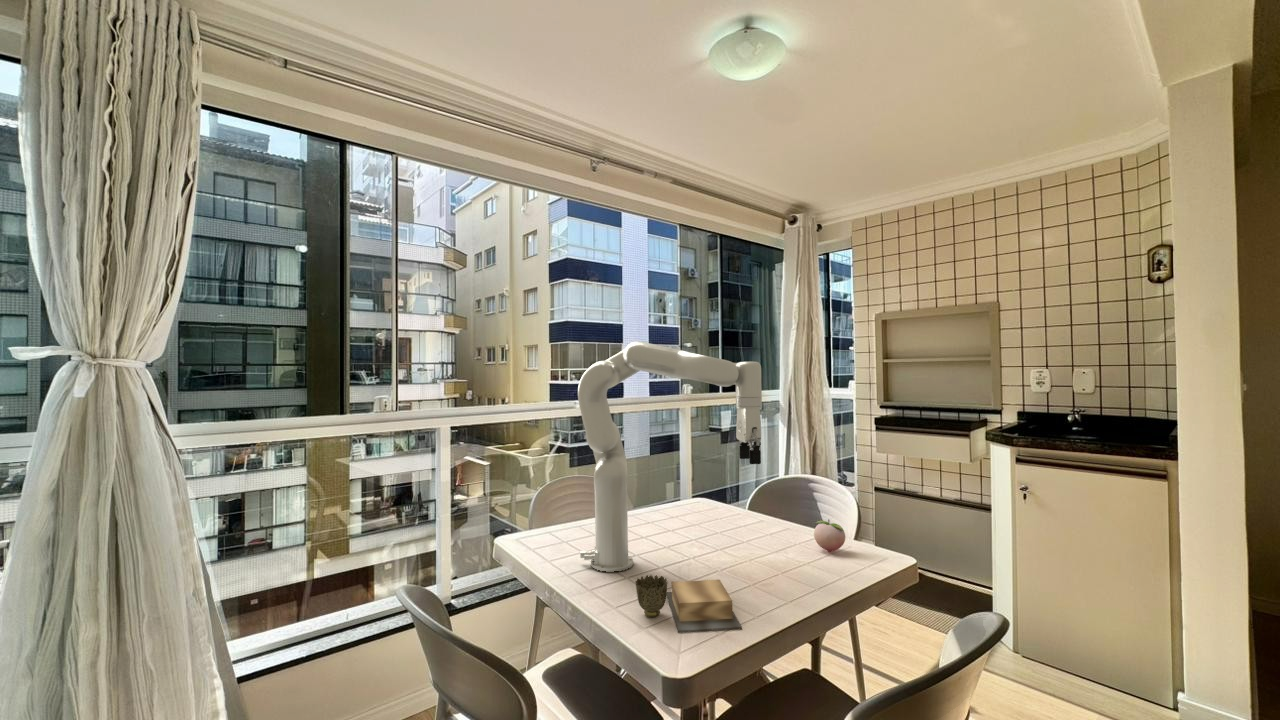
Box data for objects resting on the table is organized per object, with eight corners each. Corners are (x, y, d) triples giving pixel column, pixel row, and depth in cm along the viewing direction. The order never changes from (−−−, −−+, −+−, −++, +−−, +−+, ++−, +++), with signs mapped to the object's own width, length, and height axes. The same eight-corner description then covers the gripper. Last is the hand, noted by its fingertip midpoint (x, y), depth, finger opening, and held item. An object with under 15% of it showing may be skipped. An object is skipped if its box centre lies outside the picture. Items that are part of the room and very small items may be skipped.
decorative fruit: (809, 552, 158) (808, 520, 159) (819, 545, 164) (818, 514, 165) (840, 559, 152) (839, 525, 152) (849, 552, 158) (848, 519, 159)
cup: (634, 609, 122) (634, 575, 122) (665, 607, 122) (665, 573, 123) (637, 624, 114) (636, 587, 115) (670, 622, 115) (669, 586, 115)
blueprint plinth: (678, 632, 110) (677, 611, 110) (665, 593, 130) (665, 575, 130) (742, 629, 111) (741, 608, 111) (720, 591, 131) (719, 573, 131)
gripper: (728, 402, 160) (729, 457, 160) (745, 404, 143) (746, 466, 143) (751, 401, 161) (752, 456, 161) (771, 404, 144) (772, 465, 143)
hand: (749, 461), depth 152 cm, fingers open, 9 cm apart
